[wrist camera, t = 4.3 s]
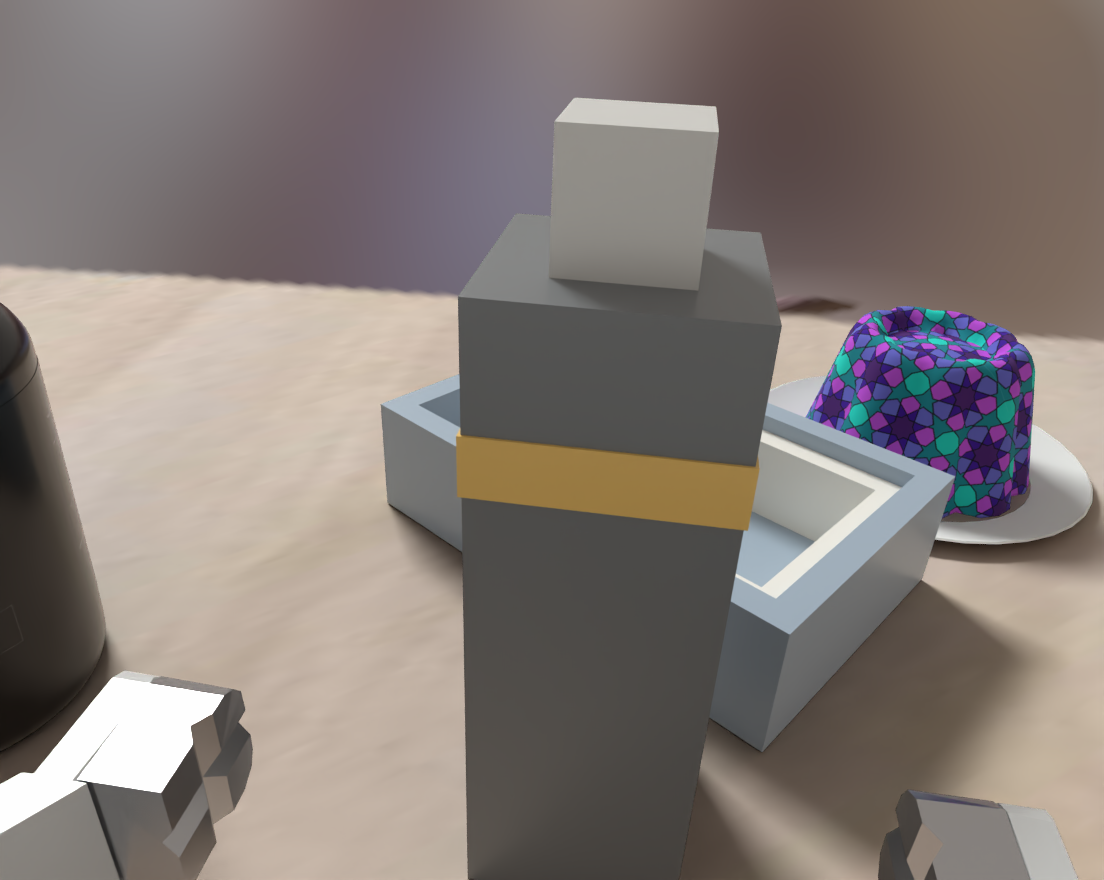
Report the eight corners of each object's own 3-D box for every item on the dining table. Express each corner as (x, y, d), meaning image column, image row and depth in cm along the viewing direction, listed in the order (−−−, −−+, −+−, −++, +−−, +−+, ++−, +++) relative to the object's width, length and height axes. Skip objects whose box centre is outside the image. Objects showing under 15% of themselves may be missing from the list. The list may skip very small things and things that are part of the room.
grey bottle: (464, 880, 17) (449, 130, 10) (505, 719, 20) (515, 83, 13) (675, 915, 16) (819, 156, 9) (679, 743, 20) (785, 100, 13)
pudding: (727, 381, 37) (746, 265, 35) (1008, 401, 37) (1048, 285, 34) (764, 547, 27) (794, 399, 24) (1155, 578, 26) (1229, 431, 24)
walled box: (387, 502, 28) (380, 404, 26) (573, 413, 34) (578, 328, 32) (761, 752, 20) (789, 634, 18) (922, 578, 25) (955, 476, 24)
